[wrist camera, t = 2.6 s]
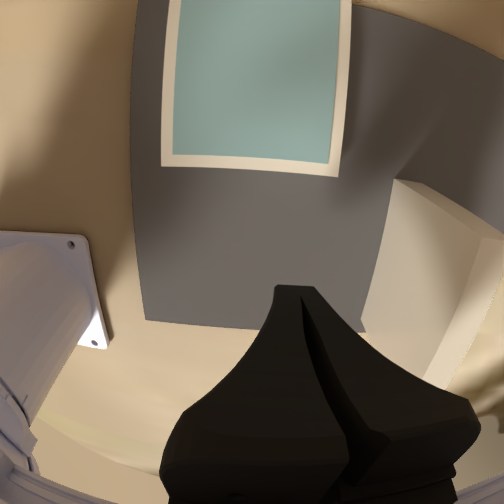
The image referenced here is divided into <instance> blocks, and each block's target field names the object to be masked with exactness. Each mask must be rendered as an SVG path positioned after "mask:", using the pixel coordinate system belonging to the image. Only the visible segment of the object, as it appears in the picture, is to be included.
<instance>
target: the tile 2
mask: <svg viewBox="0 0 504 504" xmlns="http://www.w3.org/2000/svg"><path fill="white" fill-rule="evenodd" d="M503 273H504V234H502V233H501V232H499V231H498V230H497V229H495V228H494V227H492V226H491V225H489V224H488V223H486V222H485V221H483V220H482V219H480V218H479V217H477V216H476V215H474V214H473V213H471V212H470V211H468V210H466V209H465V208H463V207H462V206H460V205H458V204H457V203H455V202H454V201H452V200H450V199H449V198H447V197H445V196H444V195H442V194H440V193H438V192H437V191H435V190H433V189H431V188H430V187H428V186H426V185H424V184H423V183H418V182H413V181H407V180H401V179H395V178H394V181H393V187H392V192H391V198H390V203H389V208H388V213H387V218H386V223H385V228H384V232H383V237H382V241H381V245H380V250H379V254H378V258H377V262H376V266H375V270H374V274H373V277H372V281H371V285H370V289H369V292H368V296H367V299H366V303H365V306H364V310H363V313H362V316H361V321H362V323H363V326H364V328H365V331H366V333H367V336H368V338H369V341H370V343H371V346H372V347H374V348H375V349H376V350H377V351H379V352H380V353H381V354H382V355H384V356H385V357H387V358H388V359H389V360H391V361H392V362H394V363H395V364H397V365H398V366H400V367H402V368H403V369H405V370H406V371H408V372H410V373H411V374H413V375H415V376H417V377H418V378H420V379H422V380H424V381H426V382H428V383H430V384H432V385H434V386H436V387H438V388H440V389H443V390H445V389H446V387H447V386H448V384H449V382H450V381H451V379H452V378H453V376H454V374H455V373H456V371H457V369H458V367H459V366H460V364H461V362H462V361H463V359H464V357H465V355H466V353H467V352H468V350H469V348H470V346H471V344H472V342H473V340H474V338H475V336H476V334H477V332H478V330H479V328H480V326H481V324H482V322H483V320H484V318H485V316H486V314H487V312H488V309H489V307H490V305H491V303H492V300H493V298H494V296H495V293H496V291H497V288H498V286H499V283H500V281H501V278H502V276H503Z"/></svg>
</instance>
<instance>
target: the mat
mask: <svg viewBox="0 0 504 504" xmlns="http://www.w3.org/2000/svg"><path fill="white" fill-rule="evenodd" d="M169 2H170V0H139V1H138V8H137V16H136V25H135V35H134V46H133V59H132V76H131V100H130V163H131V188H132V206H133V220H134V232H135V243H136V253H137V262H138V270H139V279H140V286H141V294H142V301H143V307H144V314H145V320H151V321H160V322H169V323H178V324H189V325H199V326H211V327H224V328H238V329H254V330H261V328H262V326H263V324H264V322H265V320H266V318H267V316H268V313H269V311H270V308H271V305H272V302H273V293H274V287H275V286H276V285H278V284H281V285H299V286H314V287H315V288H316V289H317V290H318V292H319V293H320V294H321V295H322V296H323V298H324V299H325V300H326V301H327V302H328V303H329V304H330V306H331V307H332V308H333V309H334V310H335V311H336V312H337V313H338V315H339V316H340V317H341V318H342V319H343V320H344V321H345V322H346V323H347V324H348V325H349V326H350V327H351V328H352V329H353V330H354V331H355V332H366V331H365V328H364V326H363V323H362V321H361V316H362V313H363V310H364V306H365V303H366V299H367V296H368V292H369V289H370V285H371V281H372V277H373V274H374V270H375V266H376V262H377V258H378V254H379V250H380V245H381V241H382V237H383V232H384V228H385V223H386V218H387V213H388V208H389V203H390V198H391V192H392V187H393V181H394V178H395V179H401V180H407V181H413V182H418V183H423V184H424V185H426V186H428V187H430V188H431V189H433V190H435V191H437V192H438V193H440V194H442V195H444V196H445V197H447V198H449V199H450V200H452V201H454V202H455V203H457V204H458V205H460V206H462V207H463V208H465V209H466V210H468V211H470V212H471V213H473V214H474V215H476V216H477V217H479V218H480V219H482V220H483V221H485V222H486V223H488V224H489V225H491V226H492V227H494V228H495V229H497V230H498V231H499V232H501V233H502V234H504V61H503V60H501V59H499V58H497V57H496V56H494V55H492V54H490V53H488V52H486V51H484V50H482V49H480V48H478V47H476V46H474V45H472V44H470V43H467V42H465V41H463V40H461V39H458V38H456V37H454V36H452V35H449V34H447V33H444V32H442V31H439V30H437V29H434V28H431V27H429V26H426V25H423V24H420V23H418V22H415V21H412V20H409V19H406V18H402V17H399V16H396V15H393V14H389V13H386V12H382V11H378V10H374V9H371V8H367V7H362V6H358V5H354V4H352V6H351V38H350V58H349V73H348V87H347V99H346V111H345V121H344V131H343V140H342V149H341V157H340V165H339V173H338V177H331V176H322V175H312V174H302V173H290V172H278V171H265V170H250V169H232V168H209V167H167V166H161V115H162V88H163V69H164V54H165V42H166V30H167V20H168V11H169Z"/></svg>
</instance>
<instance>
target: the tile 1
mask: <svg viewBox="0 0 504 504" xmlns="http://www.w3.org/2000/svg"><path fill="white" fill-rule="evenodd" d="M351 6H352V0H170V2H169V11H168V20H167V30H166V42H165V54H164V69H163V88H162V115H161V166H167V167H209V168H232V169H250V170H265V171H278V172H290V173H302V174H312V175H322V176H331V177H338V173H339V165H340V157H341V149H342V140H343V131H344V121H345V111H346V99H347V87H348V73H349V58H350V38H351Z"/></svg>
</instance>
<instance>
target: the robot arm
mask: <svg viewBox="0 0 504 504" xmlns="http://www.w3.org/2000/svg"><path fill="white" fill-rule="evenodd" d="M70 241H72V242H73V243H74V245H75V246H73V245H72V244H71V242H70ZM77 344H79V345H84V346H89V347H94V348H99V349H107V348H108V346H109V344H110V342H109V338H108V334H107V331H106V327H105V323H104V319H103V315H102V310H101V306H100V302H99V297H98V293H97V288H96V283H95V278H94V273H93V267H92V262H91V256H90V250H89V244H88V241H87V239H86V238H85V237H84V236H83V235H78V234H59V233H40V232H20V231H0V504H117V503H113V502H109V501H106V500H103V499H100V498H96V497H93V496H90V495H88V494H84V493H82V492H79V491H76V490H74V489H71V488H68V487H66V486H63V485H61V484H58V483H56V482H53V481H51V480H48V479H46V478H44V477H42V476H40V471H39V467H38V465H37V462H36V460H35V458H34V457H33V455H32V454H31V453H32V451H33V449H34V446H35V444H36V442H37V438H36V437H35V436H34V435H33V434H32V433H31V431H30V429H29V427H30V426H31V424H32V422H33V420H34V418H35V416H36V414H37V412H38V410H39V409H40V407H41V405H42V403H43V401H44V399H45V398H46V396H47V394H48V392H49V391H50V389H51V387H52V385H53V384H54V382H55V380H56V378H57V377H58V375H59V373H60V371H61V370H62V368H63V366H64V365H65V363H66V361H67V360H68V358H69V356H70V355H71V353H72V352H73V350H74V348H75V347H76V345H77ZM480 431H481V424H480V422H479V420H478V418H477V416H476V414H475V412H474V410H473V408H472V406H471V404H470V402H469V400H468V399H466V398H463V397H461V396H458V395H455V394H453V393H450V392H448V391H445V390H443V389H440V388H438V387H436V386H434V385H432V384H430V383H428V382H426V381H424V380H422V379H420V378H418V377H417V376H415V375H413V374H411V373H410V372H408V371H406V370H405V369H403V368H402V367H400V366H398V365H397V364H395V363H394V362H392V361H391V360H389V359H388V358H387V357H385V356H384V355H382V354H381V353H380V352H379V351H377V350H376V349H375V348H374V347H372V346H371V345H370V344H369V343H367V342H366V341H365V340H364V339H363V338H362V337H361V336H360V335H358V334H357V333H356V332H355V331H354V330H353V329H352V328H351V327H350V326H349V325H348V324H347V323H346V322H345V321H344V320H343V319H342V318H341V317H340V316H339V315H338V313H337V312H336V311H335V310H334V309H333V308H332V307H331V306H330V304H329V303H328V302H327V301H326V300H325V299H324V298H323V296H322V295H321V294H320V293H319V292H318V290H317V289H316V288H315V287H314V286H299V285H281V284H278V285H276V286H275V287H274V293H273V302H272V305H271V308H270V311H269V313H268V316H267V318H266V320H265V322H264V324H263V326H262V328H261V330H260V332H259V333H258V335H257V337H256V338H255V340H254V342H253V343H252V345H251V346H250V348H249V349H248V350H247V352H246V353H245V355H244V356H243V357H242V358H241V360H240V361H239V362H238V363H237V364H236V366H235V367H234V368H233V369H232V370H231V371H230V372H229V373H228V375H227V376H225V377H224V378H223V379H222V380H221V381H220V382H219V383H218V384H217V385H216V386H215V387H214V388H213V389H212V390H211V391H210V392H209V393H207V394H206V395H205V396H204V397H202V398H201V399H200V400H198V401H197V402H196V403H194V404H193V405H192V406H191V407H189V408H188V409H187V410H185V411H184V412H183V413H182V415H181V416H180V418H179V420H178V421H177V423H176V425H175V427H174V429H173V431H172V432H171V434H170V436H169V439H168V441H167V444H166V446H165V449H164V452H163V456H162V460H161V465H160V469H159V475H160V479H161V481H162V483H163V485H164V487H165V489H166V491H167V493H168V495H169V502H168V504H504V472H501V473H499V474H497V475H495V476H493V477H491V478H488V479H486V480H484V481H481V482H479V483H477V484H474V485H472V486H469V487H467V488H464V489H462V490H459V491H455V489H454V485H453V482H452V479H451V478H454V477H455V476H456V470H455V468H454V465H453V464H454V463H455V462H456V461H457V460H458V459H459V458H460V457H461V456H462V455H463V454H464V453H465V452H466V451H467V450H468V449H469V448H470V447H471V446H472V445H473V443H474V442H475V441H476V439H477V437H478V435H479V433H480Z"/></svg>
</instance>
